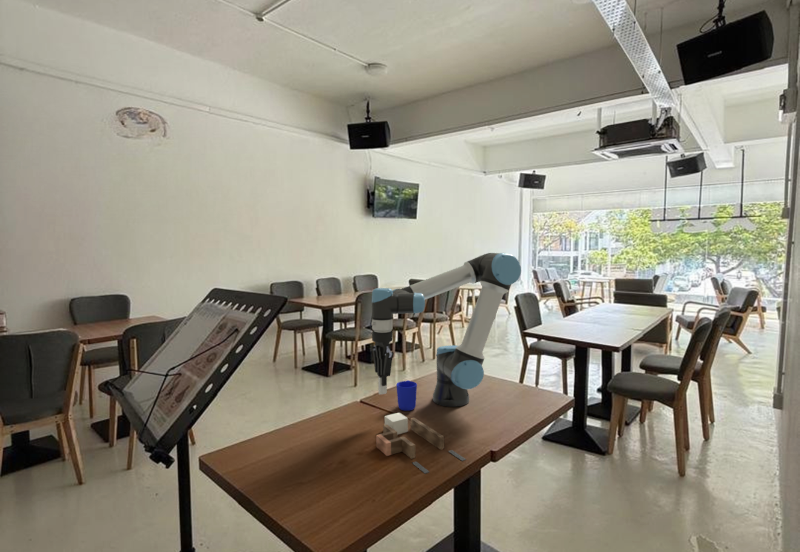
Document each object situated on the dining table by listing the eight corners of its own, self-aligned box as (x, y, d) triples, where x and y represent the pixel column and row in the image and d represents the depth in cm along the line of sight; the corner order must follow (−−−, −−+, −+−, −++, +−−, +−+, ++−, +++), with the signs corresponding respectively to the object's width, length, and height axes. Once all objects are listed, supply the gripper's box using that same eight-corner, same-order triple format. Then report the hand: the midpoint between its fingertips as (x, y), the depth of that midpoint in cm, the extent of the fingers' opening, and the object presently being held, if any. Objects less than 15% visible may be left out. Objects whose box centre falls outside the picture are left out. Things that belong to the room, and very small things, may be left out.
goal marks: (412, 463, 129) (412, 462, 129) (452, 450, 137) (452, 449, 137) (425, 473, 123) (425, 473, 123) (466, 459, 131) (466, 459, 131)
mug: (418, 401, 180) (418, 378, 180) (416, 412, 168) (416, 387, 168) (398, 401, 181) (398, 377, 180) (395, 412, 169) (395, 387, 168)
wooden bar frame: (369, 440, 145) (368, 429, 145) (414, 428, 154) (414, 417, 154) (395, 463, 129) (395, 450, 129) (444, 448, 138) (444, 436, 138)
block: (384, 429, 154) (384, 416, 153) (399, 425, 157) (398, 412, 156) (393, 436, 148) (393, 422, 148) (408, 431, 152) (407, 418, 151)
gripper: (365, 328, 162) (365, 390, 163) (381, 334, 150) (381, 400, 152) (382, 326, 165) (383, 386, 167) (400, 332, 154) (400, 396, 156)
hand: (382, 393), depth 159 cm, fingers closed
